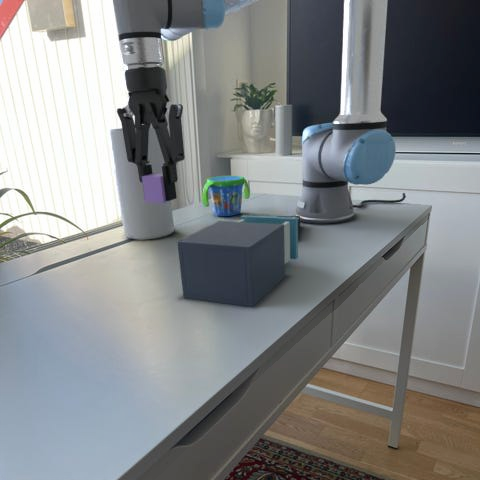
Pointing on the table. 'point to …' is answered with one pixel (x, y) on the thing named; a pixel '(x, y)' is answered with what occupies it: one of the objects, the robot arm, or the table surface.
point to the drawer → (289, 232)
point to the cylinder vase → (139, 191)
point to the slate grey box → (232, 262)
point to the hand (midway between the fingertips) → (160, 198)
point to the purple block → (154, 188)
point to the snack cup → (225, 194)
